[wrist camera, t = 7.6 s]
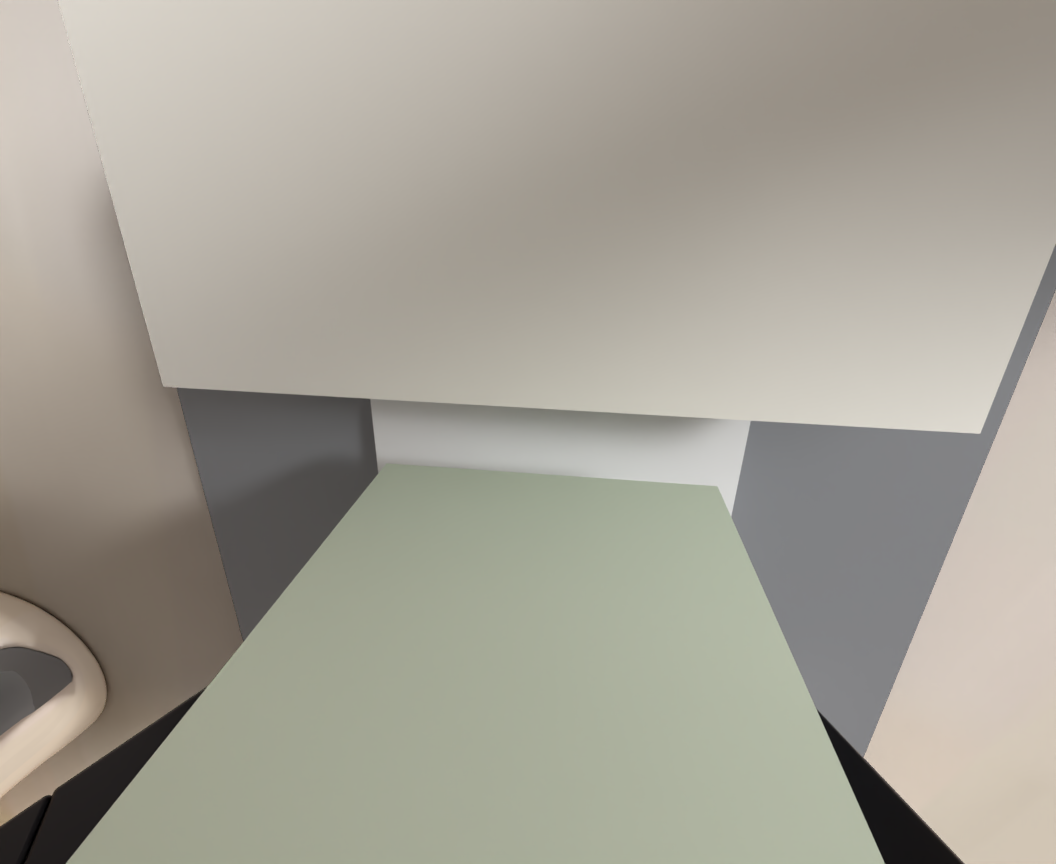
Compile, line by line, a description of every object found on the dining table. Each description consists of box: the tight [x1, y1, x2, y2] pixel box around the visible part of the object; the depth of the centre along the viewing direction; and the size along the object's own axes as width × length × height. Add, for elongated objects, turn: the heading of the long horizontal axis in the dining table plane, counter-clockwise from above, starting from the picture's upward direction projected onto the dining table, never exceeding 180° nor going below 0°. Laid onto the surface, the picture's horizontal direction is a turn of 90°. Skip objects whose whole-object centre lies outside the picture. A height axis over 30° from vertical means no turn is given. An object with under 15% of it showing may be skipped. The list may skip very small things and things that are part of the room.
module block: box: [66, 463, 885, 864], centre depth 6 cm, size 5×4×6 cm
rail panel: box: [57, 0, 1056, 757], centre depth 10 cm, size 16×18×5 cm
